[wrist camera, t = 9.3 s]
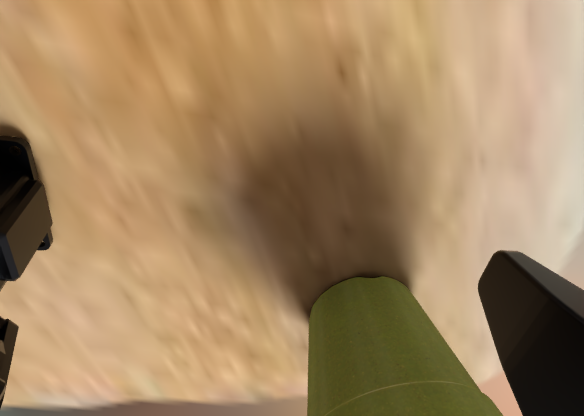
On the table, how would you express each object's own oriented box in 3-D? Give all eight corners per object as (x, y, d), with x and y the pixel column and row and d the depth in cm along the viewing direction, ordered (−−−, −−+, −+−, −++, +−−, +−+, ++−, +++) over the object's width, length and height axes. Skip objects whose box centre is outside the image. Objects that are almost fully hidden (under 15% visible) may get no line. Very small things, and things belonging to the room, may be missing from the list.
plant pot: (389, 372, 33) (443, 547, 24) (250, 344, 30) (252, 538, 21) (485, 271, 27) (604, 453, 18) (326, 221, 24) (376, 417, 15)
